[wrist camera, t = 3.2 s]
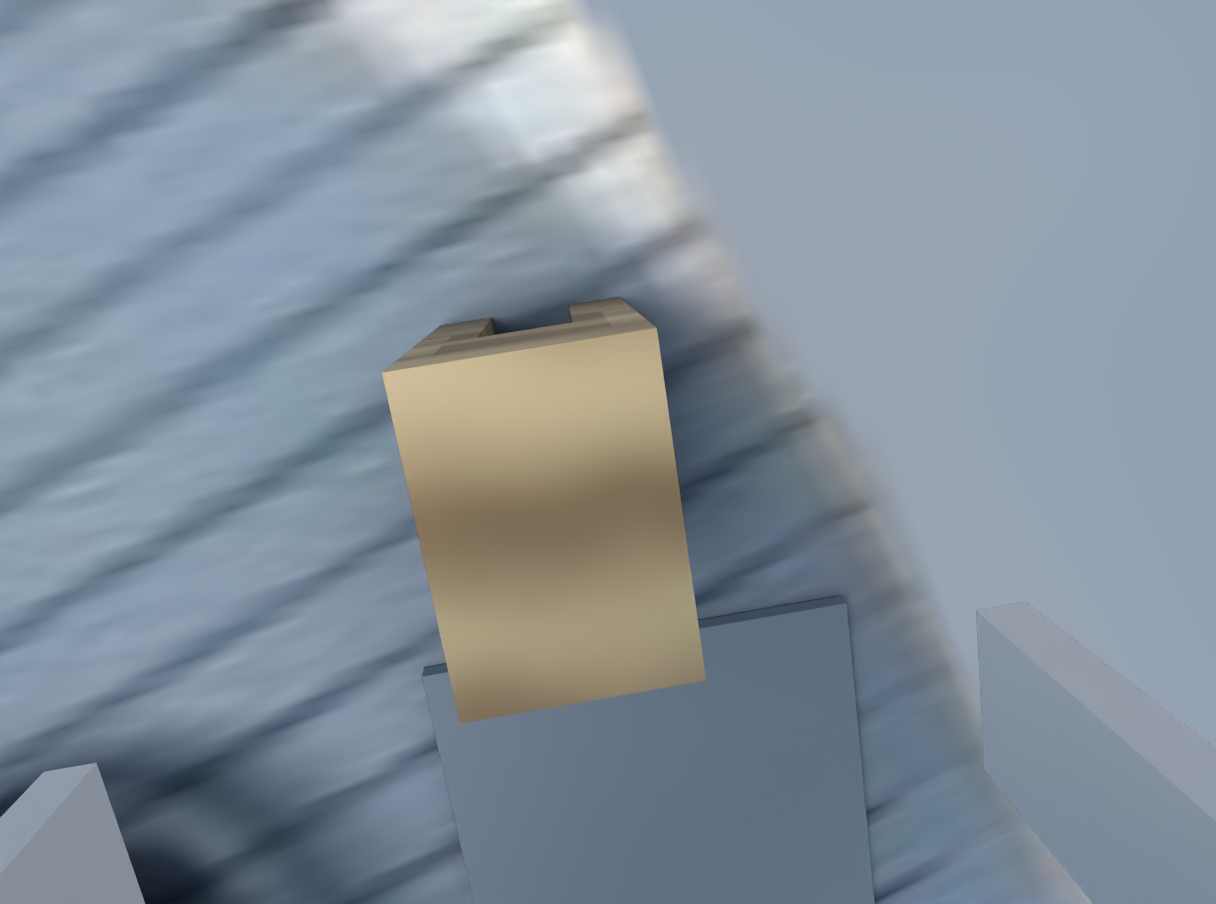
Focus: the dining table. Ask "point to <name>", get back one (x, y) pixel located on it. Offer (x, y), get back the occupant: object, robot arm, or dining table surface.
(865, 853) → the slate mat
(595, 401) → the notched wooden block
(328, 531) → the dining table surface
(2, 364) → the dining table surface
